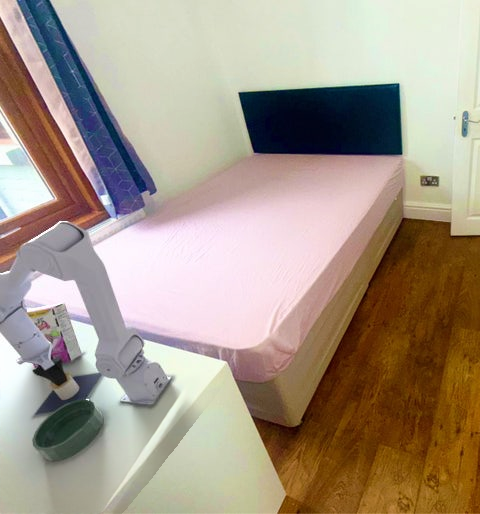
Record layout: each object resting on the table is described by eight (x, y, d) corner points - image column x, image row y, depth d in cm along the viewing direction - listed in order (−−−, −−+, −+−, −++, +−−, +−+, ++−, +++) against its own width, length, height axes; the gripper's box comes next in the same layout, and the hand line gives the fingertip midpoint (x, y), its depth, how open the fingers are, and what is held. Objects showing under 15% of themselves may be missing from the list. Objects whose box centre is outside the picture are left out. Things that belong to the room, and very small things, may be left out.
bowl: (115, 413, 84) (106, 401, 81) (73, 466, 74) (61, 453, 71) (76, 408, 87) (66, 396, 85) (31, 458, 77) (18, 446, 75)
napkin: (104, 373, 96) (103, 372, 96) (81, 408, 87) (80, 407, 87) (62, 379, 97) (61, 378, 97) (35, 415, 88) (34, 414, 87)
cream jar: (83, 386, 93) (73, 372, 90) (69, 400, 89) (58, 387, 87) (70, 384, 94) (60, 371, 92) (56, 399, 91) (45, 385, 88)
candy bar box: (33, 369, 101) (13, 314, 98) (46, 361, 106) (28, 308, 103) (71, 362, 100) (52, 307, 97) (83, 354, 105) (65, 301, 102)
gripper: (-3, 337, 84) (32, 376, 91) (12, 359, 75) (49, 401, 82) (31, 319, 88) (61, 357, 95) (48, 338, 80) (80, 379, 86)
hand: (57, 376), depth 89 cm, fingers open, 7 cm apart
